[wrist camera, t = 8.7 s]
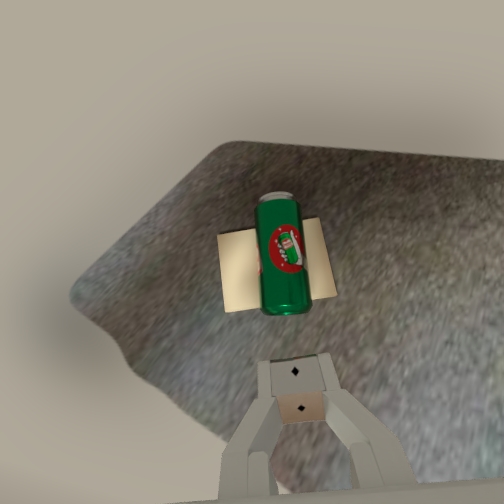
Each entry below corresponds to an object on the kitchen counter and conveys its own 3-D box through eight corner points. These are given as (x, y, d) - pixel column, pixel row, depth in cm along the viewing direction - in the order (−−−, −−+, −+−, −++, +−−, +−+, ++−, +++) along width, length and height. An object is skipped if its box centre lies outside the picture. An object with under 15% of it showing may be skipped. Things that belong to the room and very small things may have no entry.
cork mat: (318, 219, 31) (319, 217, 30) (336, 295, 28) (337, 295, 28) (218, 236, 32) (217, 235, 31) (226, 312, 29) (225, 312, 29)
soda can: (271, 316, 29) (264, 214, 32) (318, 312, 27) (305, 204, 30) (251, 315, 24) (245, 197, 28) (306, 310, 22) (292, 184, 26)
